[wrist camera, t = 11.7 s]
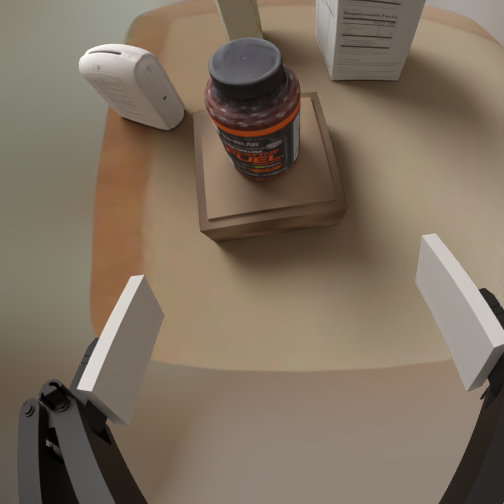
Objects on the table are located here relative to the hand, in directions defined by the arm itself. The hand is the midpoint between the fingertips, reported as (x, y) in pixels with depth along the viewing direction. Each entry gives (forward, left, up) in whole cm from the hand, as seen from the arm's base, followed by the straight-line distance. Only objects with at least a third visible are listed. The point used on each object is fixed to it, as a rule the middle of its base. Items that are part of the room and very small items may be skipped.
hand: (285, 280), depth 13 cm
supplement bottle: (0, -11, -9) cm, 15 cm away
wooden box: (0, -11, -14) cm, 18 cm away
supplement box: (-14, -27, -15) cm, 34 cm away
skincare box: (0, -32, -15) cm, 36 cm away
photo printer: (+13, -23, -15) cm, 31 cm away
